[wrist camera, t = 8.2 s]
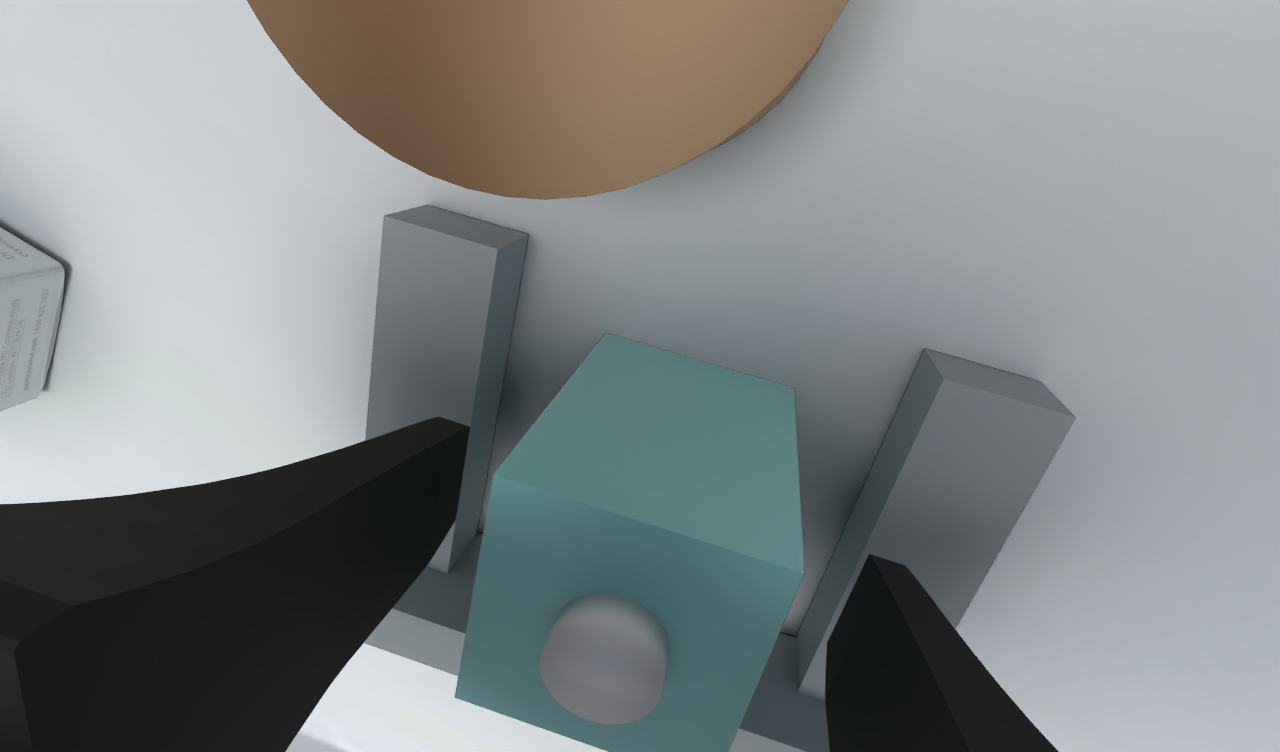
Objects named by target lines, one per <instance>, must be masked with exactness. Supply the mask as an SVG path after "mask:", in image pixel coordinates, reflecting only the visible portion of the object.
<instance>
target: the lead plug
mask: <svg viewBox="0 0 1280 752" xmlns="http://www.w3.org/2000/svg"><path fill="white" fill-rule="evenodd" d="M803 576H804V556H803V539H802V521H801V503H800V486H799V468H798V450H797V432H796V415H795V397H794V388H793V387H789V386H786V385H782V384H779V383H776V382H772V381H769V380H765V379H762V378H759V377H755V376H752V375H748V374H745V373H742V372H738V371H735V370H731V369H728V368H725V367H721V366H718V365H714V364H711V363H708V362H704V361H701V360H697V359H694V358H691V357H687V356H684V355H681V354H677V353H674V352H670V351H667V350H664V349H660V348H657V347H653V346H650V345H647V344H643V343H640V342H636V341H633V340H630V339H626V338H623V337H619V336H616V335H613V334H609V333H605V334H604V336H603V337H602V338H601V339H600V341H599V342H598V343H597V344H596V346H595V347H594V348H593V349H592V351H591V352H590V353H589V355H588V356H587V357H586V358H585V360H584V361H583V362H582V363H581V365H580V366H579V367H578V368H577V370H576V371H575V372H574V373H573V375H572V376H571V377H570V378H569V380H568V381H567V382H566V383H565V385H564V386H563V387H562V388H561V390H560V391H559V392H558V393H557V395H556V396H555V397H554V398H553V400H552V401H551V402H550V404H549V405H548V406H547V407H546V409H545V410H544V411H543V412H542V414H541V415H540V416H539V417H538V419H537V420H536V421H535V422H534V424H533V425H532V426H531V427H530V429H529V430H528V431H527V432H526V434H525V435H524V436H523V437H522V439H521V440H520V441H519V442H518V444H517V445H516V446H515V448H514V449H513V450H512V451H511V453H510V454H509V455H508V456H507V458H506V459H505V460H504V461H503V463H502V464H501V465H500V466H499V468H498V469H497V470H496V471H495V473H494V474H493V478H492V484H491V490H490V496H489V501H488V507H487V513H486V519H485V525H484V530H483V536H482V542H481V548H480V554H479V559H478V565H477V571H476V577H475V583H474V588H473V594H472V600H471V606H470V612H469V617H468V623H467V629H466V635H465V641H464V646H463V652H462V658H461V664H460V669H459V675H458V681H457V687H456V693H455V698H458V699H461V700H463V701H466V702H469V703H472V704H475V705H478V706H480V707H483V708H486V709H489V710H492V711H495V712H498V713H500V714H503V715H506V716H509V717H512V718H515V719H517V720H520V721H523V722H526V723H529V724H532V725H534V726H537V727H540V728H543V729H546V730H549V731H552V732H554V733H557V734H560V735H563V736H566V737H569V738H571V739H574V740H577V741H580V742H583V743H586V744H588V745H591V746H594V747H597V748H600V749H603V750H606V751H608V752H729V750H730V748H731V746H732V743H733V741H734V739H735V736H736V734H737V732H738V729H739V727H740V725H741V722H742V720H743V717H744V715H745V713H746V710H747V708H748V706H749V703H750V701H751V699H752V696H753V694H754V691H755V689H756V687H757V684H758V682H759V680H760V677H761V675H762V673H763V670H764V668H765V666H766V663H767V661H768V658H769V656H770V654H771V651H772V649H773V647H774V644H775V642H776V640H777V637H778V635H779V633H780V630H781V628H782V625H783V623H784V621H785V618H786V616H787V614H788V611H789V609H790V607H791V604H792V602H793V599H794V597H795V595H796V592H797V590H798V588H799V585H800V583H801V581H802V578H803Z"/></svg>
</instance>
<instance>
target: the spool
mask: <svg viewBox="0 0 1280 752" xmlns="http://www.w3.org/2000/svg"><path fill="white" fill-rule="evenodd" d="M247 1H248V3H249V5H250V6H251V8H252V10H253V11H254V13H255V15H256V16H257V18H258V20H259V21H260V23H261V25H262V26H263V28H264V30H265V31H266V33H267V35H268V36H269V37H270V39H271V40H272V41H273V43H274V44H275V45H276V47H277V48H278V49H279V51H280V52H281V53H282V55H283V56H284V57H285V59H286V60H287V61H288V63H289V64H290V65H291V67H292V68H293V69H294V71H295V72H296V73H297V74H298V75H299V76H300V77H301V79H302V80H303V81H304V82H305V83H306V84H307V85H308V86H309V87H310V88H311V89H312V90H313V91H314V93H315V94H316V95H317V96H318V97H319V98H320V99H321V100H322V101H323V102H324V103H325V104H326V105H327V106H328V107H329V108H330V109H331V110H332V111H334V112H335V113H336V114H337V115H338V116H339V117H341V118H342V119H343V120H344V121H345V122H346V123H347V124H349V125H350V126H351V127H352V128H353V129H354V130H356V131H357V132H358V133H359V134H361V135H362V136H364V137H365V138H367V139H368V140H369V141H371V142H372V143H374V144H375V145H377V146H378V147H380V148H381V149H383V150H384V151H386V152H387V153H389V154H390V155H392V156H393V157H395V158H397V159H399V160H401V161H403V162H405V163H407V164H409V165H411V166H413V167H415V168H416V169H418V170H420V171H422V172H424V173H426V174H428V175H431V176H433V177H436V178H439V179H442V180H445V181H447V182H450V183H453V184H456V185H459V186H461V187H464V188H467V189H472V190H476V191H481V192H486V193H491V194H495V195H500V196H505V197H517V198H531V199H559V198H573V197H586V196H591V195H595V194H600V193H605V192H609V191H614V190H619V189H623V188H627V187H630V186H632V185H635V184H638V183H641V182H643V181H646V180H649V179H652V178H654V177H657V176H660V175H662V174H665V173H667V172H669V171H671V170H673V169H675V168H677V167H679V166H681V165H683V164H684V163H686V162H688V161H690V160H692V159H694V158H696V157H698V156H700V155H701V154H703V153H705V152H707V151H709V150H711V149H713V148H715V147H717V146H719V145H721V144H723V143H725V142H727V141H728V140H730V139H732V138H734V137H736V136H738V135H739V134H740V133H742V132H743V131H745V130H746V129H748V128H749V127H750V126H752V125H753V124H755V123H756V122H757V121H759V120H760V119H761V118H762V117H763V116H764V115H765V114H767V113H768V112H769V111H770V110H771V109H772V108H773V107H774V106H775V105H776V104H778V103H779V102H780V101H781V99H782V98H783V97H784V96H785V95H786V94H787V92H788V91H789V90H790V89H791V88H792V87H793V85H794V84H795V83H796V82H797V81H798V80H799V78H800V77H801V75H802V74H803V72H804V71H805V69H806V68H807V66H808V65H809V63H810V62H811V60H812V59H813V57H814V56H815V55H816V53H817V51H818V50H819V48H820V46H821V44H822V42H823V40H824V38H825V36H826V35H827V33H828V32H829V30H830V29H831V27H832V26H833V24H834V23H835V21H836V20H837V18H838V17H839V15H840V14H841V12H842V10H843V9H844V7H845V5H846V4H847V2H848V0H247Z"/></svg>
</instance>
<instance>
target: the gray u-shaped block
mask: <svg viewBox="0 0 1280 752" xmlns="http://www.w3.org/2000/svg"><path fill="white" fill-rule="evenodd" d="M527 240H528V234H526V233H522V232H519V231H516V230H512V229H509V228H505V227H502V226H498V225H495V224H491V223H488V222H484V221H481V220H477V219H474V218H470V217H467V216H463V215H460V214H457V213H453V212H450V211H446V210H443V209H439V208H436V207H432V206H429V205H424V206H420V207H416V208H413V209H409V210H405V211H401V212H397V213H393V214H389V215H385V216H384V221H383V233H382V245H381V257H380V269H379V281H378V293H377V306H376V318H375V330H374V342H373V354H372V366H371V378H370V390H369V402H368V414H367V427H366V439H365V441H366V440H369V439H372V438H375V437H378V436H381V435H384V434H386V433H389V432H392V431H395V430H398V429H401V428H403V427H406V426H409V425H412V424H415V423H418V422H421V421H424V420H428V419H431V418H435V417H442V418H445V419H448V420H451V421H455V422H458V423H461V424H464V425H467V426H470V432H469V438H468V445H467V451H466V458H465V464H464V471H463V477H462V484H461V490H460V497H459V503H458V510H457V516H456V520H455V522H454V524H453V525H452V527H451V529H450V530H449V532H448V534H447V535H446V537H445V538H444V540H443V542H442V543H441V545H440V547H439V548H438V550H437V551H436V553H435V554H434V556H433V558H432V559H431V561H430V562H429V564H428V565H427V566H426V568H425V569H424V570H423V571H422V573H421V574H420V575H419V576H418V578H417V579H416V580H415V581H414V582H413V584H412V585H411V586H410V587H409V589H408V590H407V591H406V592H405V594H404V595H403V596H402V597H401V598H400V600H399V601H398V602H397V603H396V604H395V606H394V607H393V608H392V609H391V610H390V612H389V613H388V614H387V615H386V616H385V618H384V619H383V620H382V621H381V622H380V624H379V625H378V626H377V627H376V628H375V630H374V631H373V632H372V633H371V634H370V636H369V637H368V638H367V639H366V641H365V642H364V643H366V644H368V645H371V646H374V647H377V648H380V649H383V650H385V651H388V652H391V653H394V654H397V655H400V656H403V657H405V658H408V659H411V660H414V661H417V662H420V663H422V664H425V665H428V666H431V667H434V668H437V669H440V670H442V671H445V672H448V673H451V674H454V675H457V676H458V675H459V669H460V664H461V658H462V652H463V646H464V641H465V635H466V629H467V623H468V617H469V612H470V606H471V600H472V594H473V588H474V583H475V577H476V571H477V565H478V559H479V554H480V548H481V542H482V536H483V534H480V533H477V531H478V525H479V519H480V514H481V508H482V502H483V496H484V490H485V485H486V479H487V473H488V467H489V461H490V455H491V450H492V444H493V438H494V432H495V426H496V421H497V415H498V409H499V403H500V397H501V391H502V386H503V380H504V374H505V368H506V362H507V357H508V351H509V345H510V339H511V333H512V328H513V322H514V316H515V310H516V304H517V298H518V293H519V287H520V281H521V275H522V269H523V264H524V258H525V252H526V246H527ZM1075 418H1076V417H1075V416H1074V415H1073V414H1072V413H1071V412H1070V411H1069V410H1068V409H1067V408H1066V407H1065V406H1064V405H1063V404H1062V403H1061V402H1060V401H1059V400H1058V399H1057V398H1056V397H1055V396H1054V395H1053V393H1052V392H1051V391H1050V390H1049V389H1048V388H1047V387H1046V386H1045V385H1044V384H1043V383H1042V382H1040V381H1036V380H1033V379H1029V378H1026V377H1022V376H1019V375H1015V374H1012V373H1008V372H1005V371H1001V370H998V369H994V368H991V367H988V366H984V365H981V364H977V363H974V362H970V361H967V360H963V359H960V358H956V357H953V356H949V355H946V354H942V353H939V352H935V351H932V350H929V349H924V351H923V353H922V356H921V358H920V360H919V362H918V365H917V367H916V369H915V371H914V374H913V376H912V378H911V380H910V382H909V385H908V387H907V389H906V391H905V394H904V396H903V398H902V400H901V403H900V405H899V407H898V409H897V412H896V414H895V416H894V418H893V421H892V423H891V425H890V427H889V430H888V432H887V434H886V436H885V439H884V441H883V443H882V445H881V448H880V450H879V452H878V454H877V457H876V459H875V461H874V463H873V466H872V468H871V470H870V472H869V475H868V477H867V479H866V481H865V484H864V486H863V488H862V490H861V493H860V495H859V497H858V499H857V502H856V504H855V506H854V508H853V511H852V513H851V515H850V517H849V520H848V522H847V524H846V526H845V529H844V531H843V533H842V535H841V538H840V540H839V542H838V544H837V546H836V549H835V551H834V553H833V555H832V558H831V560H830V562H829V564H828V567H827V569H826V571H825V573H824V576H823V578H822V580H821V582H820V585H819V587H818V589H817V591H816V594H815V596H814V598H813V600H812V603H811V605H810V607H809V609H808V612H807V614H806V616H805V618H804V621H803V623H802V625H801V627H800V630H799V632H798V634H797V636H796V638H795V637H792V636H789V635H786V634H783V633H779V635H778V637H777V640H776V642H775V644H774V647H773V649H772V651H771V654H770V656H769V658H768V661H767V663H766V666H765V668H764V670H763V673H762V675H761V677H760V680H759V682H758V684H757V687H756V689H755V691H754V694H753V696H752V699H751V701H750V703H749V706H748V708H747V710H746V713H745V715H744V717H743V720H742V722H741V725H740V727H739V729H738V732H737V734H736V736H735V739H734V741H733V743H732V746H731V748H730V750H729V752H830V749H829V738H828V728H827V717H826V706H825V674H826V652H827V642H828V640H829V638H830V635H831V633H832V631H833V629H834V627H835V625H836V623H837V621H838V619H839V616H840V614H841V612H842V610H843V608H844V606H845V604H846V602H847V600H848V597H849V595H850V593H851V591H852V589H853V587H854V585H855V583H856V581H857V578H858V576H859V574H860V572H861V570H862V568H863V566H864V564H865V561H866V559H867V557H868V555H869V554H871V555H875V556H878V557H881V558H884V559H887V560H890V561H893V562H896V563H900V564H903V565H905V566H906V567H907V568H908V569H909V570H910V571H911V573H912V574H913V575H914V576H915V577H916V579H917V580H918V581H919V582H920V584H921V585H922V586H923V588H924V589H925V590H926V592H927V593H928V594H929V595H930V597H931V598H932V599H933V601H934V602H935V603H936V605H937V606H938V607H939V609H940V610H941V611H942V613H943V614H944V615H945V617H946V618H947V619H948V621H949V622H950V623H951V625H952V626H953V627H954V629H956V627H957V625H958V624H959V622H960V620H961V618H962V617H963V615H964V613H965V611H966V610H967V608H968V606H969V604H970V603H971V601H972V599H973V597H974V595H975V594H976V592H977V590H978V588H979V587H980V585H981V583H982V581H983V580H984V578H985V576H986V574H987V573H988V571H989V569H990V567H991V566H992V564H993V562H994V560H995V559H996V557H997V555H998V553H999V552H1000V550H1001V548H1002V546H1003V545H1004V543H1005V541H1006V539H1007V538H1008V536H1009V534H1010V532H1011V531H1012V529H1013V527H1014V525H1015V524H1016V522H1017V520H1018V518H1019V517H1020V515H1021V513H1022V511H1023V510H1024V508H1025V506H1026V504H1027V503H1028V501H1029V499H1030V497H1031V496H1032V494H1033V492H1034V490H1035V489H1036V487H1037V485H1038V483H1039V482H1040V480H1041V478H1042V476H1043V475H1044V473H1045V471H1046V469H1047V468H1048V466H1049V464H1050V462H1051V461H1052V459H1053V457H1054V455H1055V454H1056V452H1057V450H1058V448H1059V446H1060V445H1061V443H1062V441H1063V439H1064V438H1065V436H1066V434H1067V432H1068V431H1069V429H1070V427H1071V425H1072V424H1073V422H1074V420H1075Z"/></svg>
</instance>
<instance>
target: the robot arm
mask: <svg viewBox="0 0 1280 752" xmlns="http://www.w3.org/2000/svg"><path fill="white" fill-rule="evenodd" d="M469 432H470V426H467V425H464V424H461V423H458V422H455V421H451V420H448V419H445V418H442V417H435V418H431V419H428V420H424V421H421V422H418V423H415V424H412V425H409V426H406V427H403V428H401V429H398V430H395V431H392V432H389V433H386V434H384V435H381V436H378V437H375V438H372V439H369V440H366V441H363V442H360V443H357V444H354V445H351V446H348V447H345V448H342V449H339V450H336V451H333V452H329V453H326V454H323V455H319V456H316V457H312V458H309V459H306V460H302V461H299V462H296V463H292V464H289V465H285V466H282V467H278V468H274V469H270V470H266V471H262V472H258V473H254V474H249V475H245V476H240V477H235V478H230V479H225V480H221V481H216V482H211V483H205V484H200V485H193V486H186V487H179V488H173V489H166V490H159V491H152V492H145V493H139V494H132V495H123V496H114V497H104V498H94V499H83V500H70V501H56V502H42V503H24V504H0V752H285V751H286V750H287V748H288V747H289V745H290V744H291V742H292V741H293V739H294V738H295V736H296V735H297V733H298V732H299V730H300V729H301V727H302V726H303V724H304V723H305V721H306V720H307V718H308V717H309V715H310V714H311V712H312V711H313V709H314V708H315V706H316V705H317V703H318V702H319V701H320V699H321V698H322V696H323V695H324V693H325V692H326V690H327V689H328V687H329V686H330V684H331V683H332V682H333V681H334V679H335V678H336V677H337V675H338V674H339V673H340V671H341V670H342V669H343V667H344V666H345V665H346V663H347V662H348V661H349V660H350V659H351V657H352V656H353V655H354V654H355V653H356V651H357V650H358V649H359V648H360V647H361V645H362V644H363V643H364V642H365V641H366V639H367V638H368V637H369V636H370V634H371V633H372V632H373V631H374V630H375V628H376V627H377V626H378V625H379V624H380V622H381V621H382V620H383V619H384V618H385V616H386V615H387V614H388V613H389V612H390V610H391V609H392V608H393V607H394V606H395V604H396V603H397V602H398V601H399V600H400V598H401V597H402V596H403V595H404V594H405V592H406V591H407V590H408V589H409V587H410V586H411V585H412V584H413V582H414V581H415V580H416V579H417V578H418V576H419V575H420V574H421V573H422V571H423V570H424V569H425V568H426V566H427V565H428V564H429V562H430V561H431V559H432V558H433V556H434V554H435V553H436V551H437V550H438V548H439V547H440V545H441V543H442V542H443V540H444V538H445V537H446V535H447V534H448V532H449V530H450V529H451V527H452V525H453V524H454V522H455V520H456V516H457V510H458V503H459V497H460V490H461V484H462V477H463V471H464V464H465V458H466V451H467V445H468V438H469ZM825 706H826V717H827V728H828V738H829V749H830V752H1059V751H1058V750H1057V749H1056V748H1055V747H1054V746H1053V745H1052V744H1051V743H1050V742H1049V741H1048V740H1047V739H1046V738H1045V737H1044V736H1043V734H1042V733H1041V732H1040V731H1039V730H1038V729H1037V728H1036V727H1035V726H1034V725H1033V724H1032V722H1031V721H1030V720H1029V719H1028V718H1027V717H1026V716H1025V714H1024V713H1023V712H1022V711H1021V710H1020V709H1019V707H1018V706H1017V705H1016V704H1015V703H1014V702H1013V700H1012V699H1011V698H1010V697H1009V696H1008V695H1007V693H1006V692H1005V691H1004V690H1003V689H1002V688H1001V686H1000V685H999V684H998V683H997V682H996V680H995V679H994V678H993V677H992V675H991V674H990V673H989V672H988V671H987V669H986V668H985V667H984V666H983V664H982V663H981V662H980V661H979V659H978V658H977V657H976V656H975V654H974V653H973V652H972V651H971V649H970V648H969V647H968V645H967V644H966V643H965V642H964V640H963V639H962V638H961V636H960V635H959V634H958V632H957V631H956V630H955V629H954V627H953V626H952V625H951V623H950V622H949V621H948V619H947V618H946V617H945V615H944V614H943V613H942V611H941V610H940V609H939V607H938V606H937V605H936V603H935V602H934V601H933V599H932V598H931V597H930V595H929V594H928V593H927V592H926V590H925V589H924V588H923V586H922V585H921V584H920V582H919V581H918V580H917V579H916V577H915V576H914V575H913V574H912V573H911V571H910V570H909V569H908V568H907V567H906V566H905V565H903V564H900V563H896V562H893V561H890V560H887V559H884V558H881V557H878V556H875V555H871V554H869V555H868V557H867V559H866V561H865V564H864V566H863V568H862V570H861V572H860V574H859V576H858V578H857V581H856V583H855V585H854V587H853V589H852V591H851V593H850V595H849V597H848V600H847V602H846V604H845V606H844V608H843V610H842V612H841V614H840V616H839V619H838V621H837V623H836V625H835V627H834V629H833V631H832V633H831V635H830V638H829V640H828V642H827V652H826V674H825Z"/></svg>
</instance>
